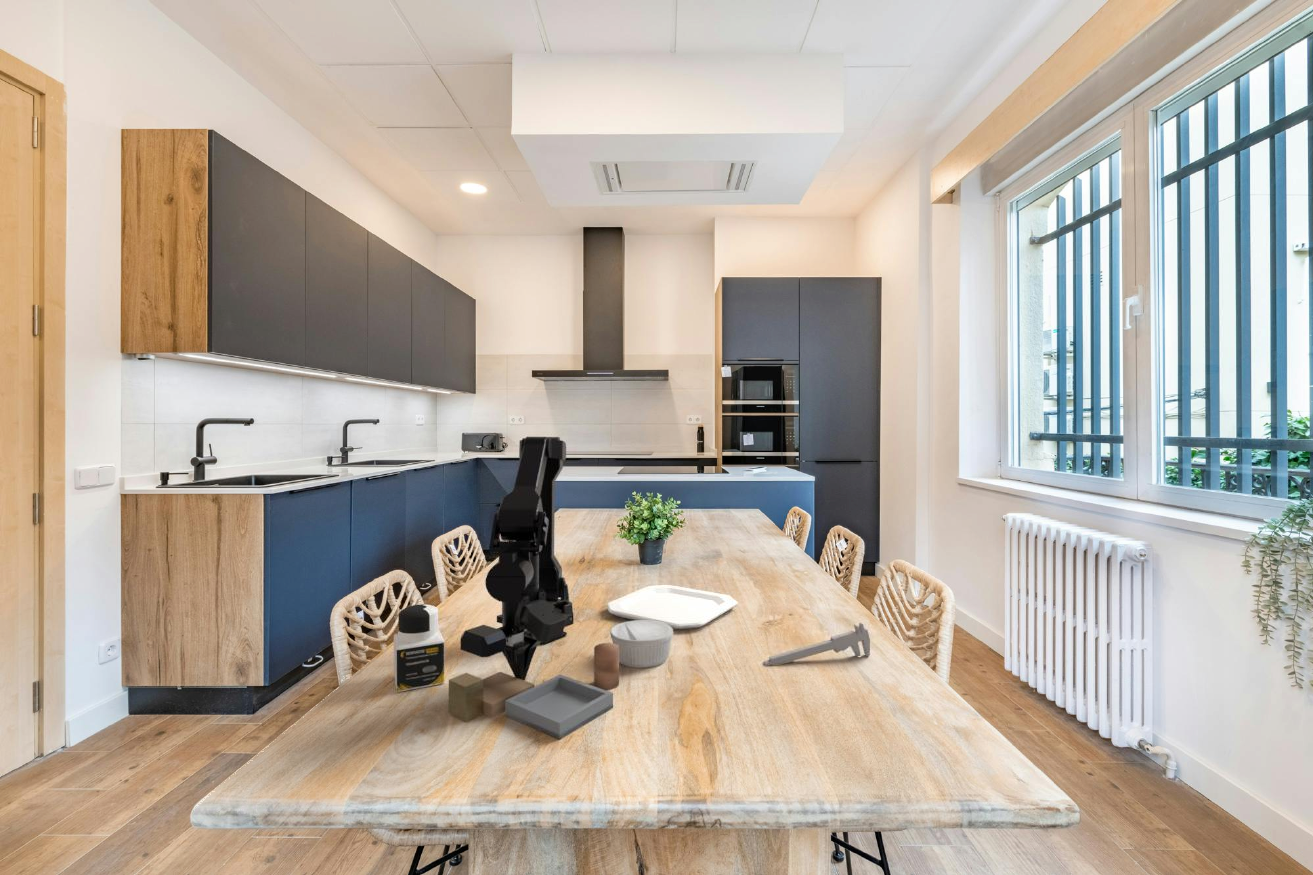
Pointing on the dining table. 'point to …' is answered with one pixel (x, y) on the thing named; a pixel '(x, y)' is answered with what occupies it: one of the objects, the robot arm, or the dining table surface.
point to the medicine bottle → (418, 649)
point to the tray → (559, 705)
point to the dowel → (606, 666)
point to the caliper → (827, 646)
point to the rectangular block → (466, 697)
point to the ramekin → (642, 642)
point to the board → (501, 692)
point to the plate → (672, 606)
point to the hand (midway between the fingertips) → (520, 680)
